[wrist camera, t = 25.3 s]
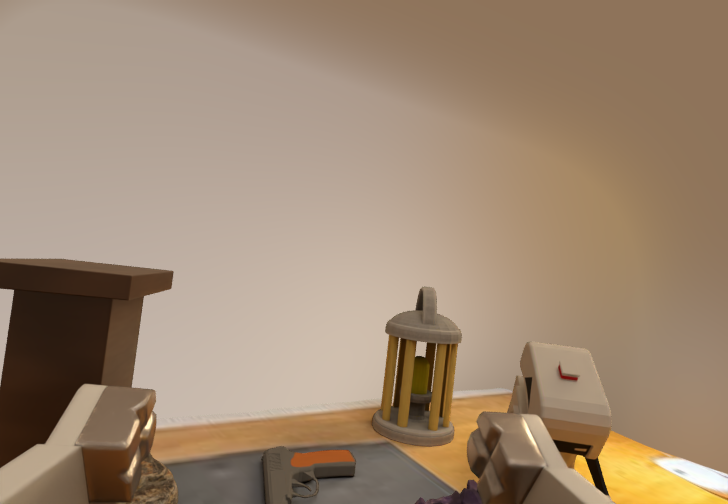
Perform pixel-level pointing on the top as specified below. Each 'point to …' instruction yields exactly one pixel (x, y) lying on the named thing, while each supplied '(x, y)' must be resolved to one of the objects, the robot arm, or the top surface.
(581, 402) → the robotic device
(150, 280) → the stand
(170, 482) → the stone
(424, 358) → the lantern
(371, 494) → the top surface
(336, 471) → the handgun
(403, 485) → the top surface
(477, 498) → the geode
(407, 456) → the top surface
